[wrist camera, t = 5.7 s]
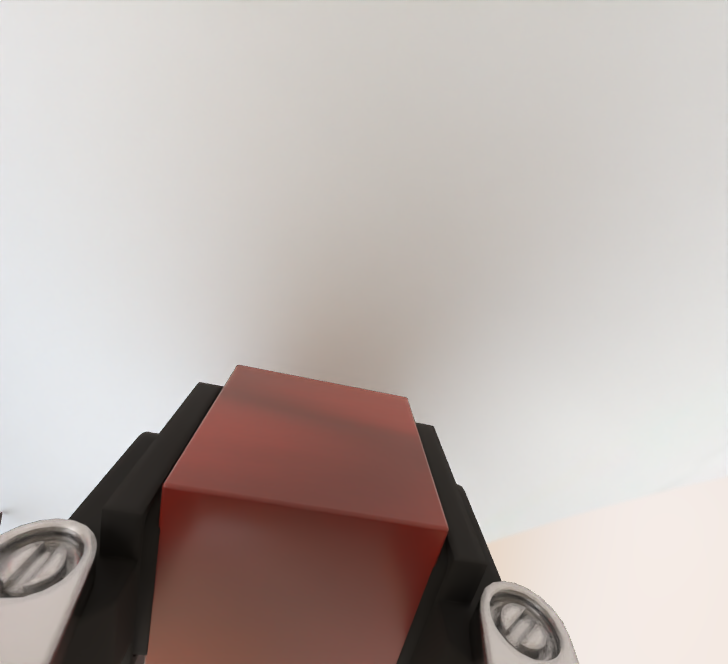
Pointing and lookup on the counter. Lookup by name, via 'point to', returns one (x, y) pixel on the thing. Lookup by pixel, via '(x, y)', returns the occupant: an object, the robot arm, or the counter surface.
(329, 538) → the red block
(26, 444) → the counter surface
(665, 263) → the counter surface
